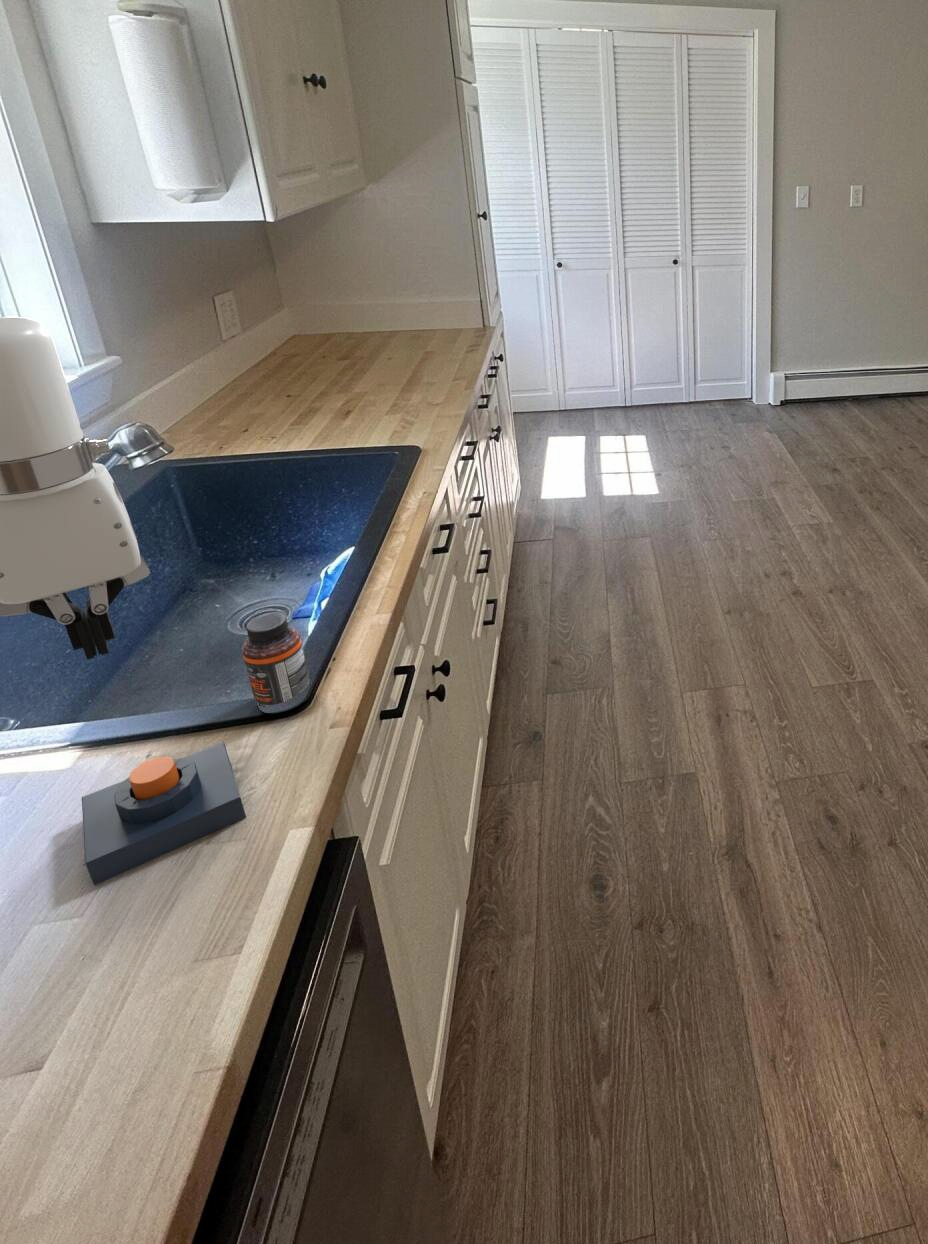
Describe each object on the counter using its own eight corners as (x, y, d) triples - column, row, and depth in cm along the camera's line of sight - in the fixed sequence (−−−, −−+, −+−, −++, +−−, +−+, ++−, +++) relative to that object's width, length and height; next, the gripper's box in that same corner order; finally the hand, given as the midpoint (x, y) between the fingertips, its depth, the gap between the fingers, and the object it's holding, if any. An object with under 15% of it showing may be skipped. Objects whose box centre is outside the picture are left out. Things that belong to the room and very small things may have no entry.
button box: (93, 886, 71) (79, 848, 70) (89, 817, 78) (75, 782, 77) (246, 818, 78) (236, 782, 77) (229, 761, 86) (219, 727, 84)
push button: (136, 806, 75) (130, 789, 74) (133, 784, 77) (127, 767, 76) (181, 788, 77) (176, 771, 76) (177, 766, 79) (172, 750, 79)
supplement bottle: (244, 709, 93) (223, 628, 89) (289, 680, 98) (270, 602, 94) (281, 723, 91) (260, 640, 87) (324, 692, 96) (306, 612, 92)
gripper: (138, 434, 73) (188, 603, 80) (-87, 476, 64) (-11, 663, 71) (147, 457, 68) (199, 637, 75) (-97, 506, 59) (-13, 705, 65)
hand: (97, 649), depth 73 cm, fingers closed
